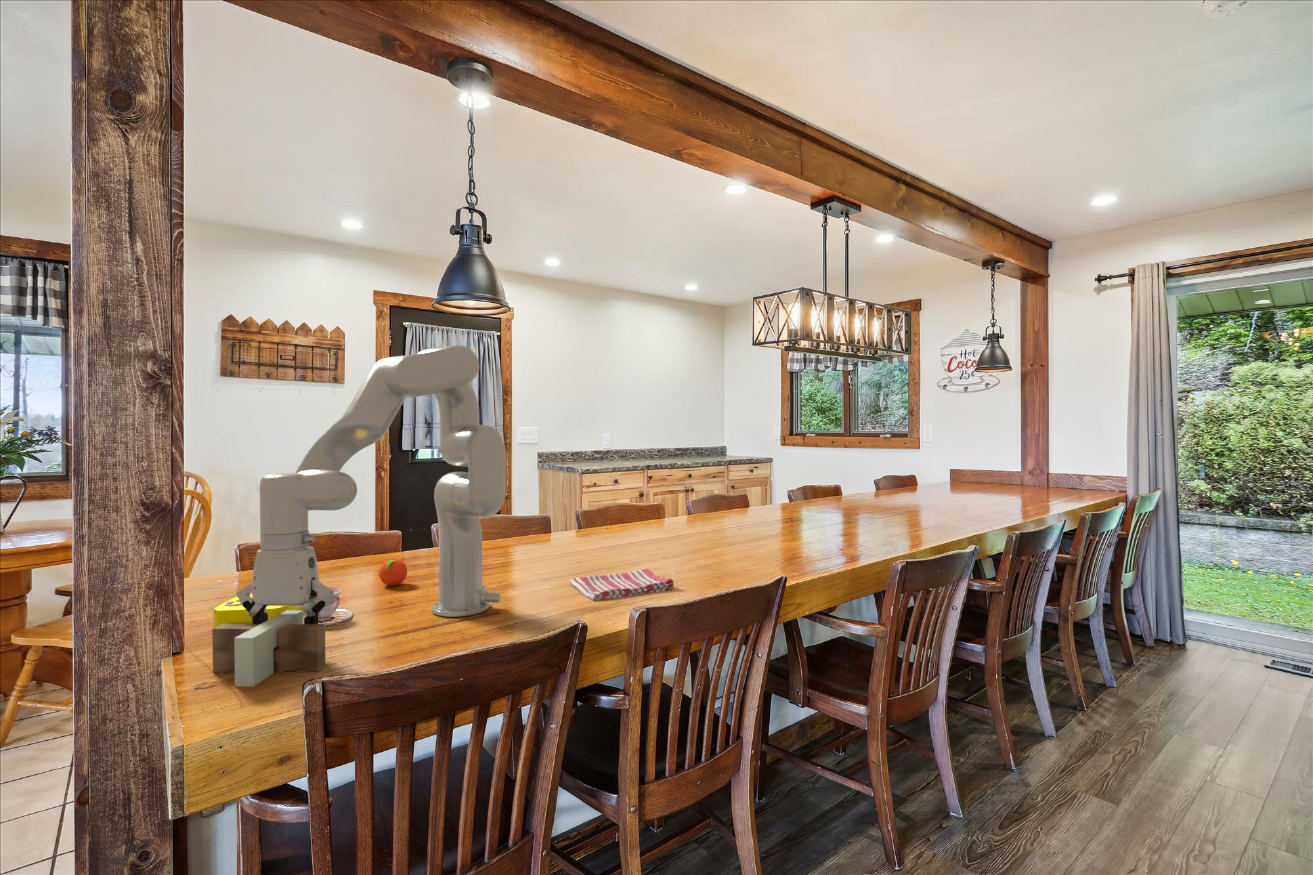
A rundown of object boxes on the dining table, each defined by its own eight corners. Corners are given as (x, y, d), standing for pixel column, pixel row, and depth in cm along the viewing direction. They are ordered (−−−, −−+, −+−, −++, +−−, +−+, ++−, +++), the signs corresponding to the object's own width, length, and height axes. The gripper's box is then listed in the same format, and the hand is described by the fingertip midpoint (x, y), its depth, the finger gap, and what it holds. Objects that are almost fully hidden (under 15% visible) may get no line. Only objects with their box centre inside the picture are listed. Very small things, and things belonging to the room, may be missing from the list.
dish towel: (676, 591, 163) (676, 578, 163) (592, 603, 152) (592, 589, 152) (646, 577, 178) (646, 564, 178) (567, 587, 168) (567, 573, 167)
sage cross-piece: (303, 652, 118) (303, 610, 118) (253, 686, 103) (252, 637, 103) (287, 652, 118) (286, 610, 118) (235, 686, 103) (234, 637, 103)
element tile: (285, 627, 134) (285, 605, 134) (208, 630, 132) (208, 607, 132) (314, 606, 149) (314, 586, 149) (245, 609, 147) (245, 588, 147)
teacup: (277, 625, 135) (277, 596, 135) (323, 609, 146) (323, 582, 146) (321, 631, 131) (320, 601, 131) (365, 614, 142) (365, 587, 142)
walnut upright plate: (325, 666, 112) (325, 624, 111) (318, 671, 109) (317, 628, 109) (222, 666, 111) (221, 624, 111) (212, 672, 109) (212, 628, 109)
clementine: (399, 589, 162) (399, 562, 162) (372, 589, 162) (372, 562, 162) (411, 582, 170) (411, 555, 170) (385, 582, 170) (385, 555, 170)
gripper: (342, 537, 119) (343, 629, 119) (249, 537, 118) (250, 629, 119) (322, 545, 111) (323, 643, 112) (222, 545, 111) (223, 643, 111)
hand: (285, 636), depth 115 cm, fingers open, 8 cm apart
